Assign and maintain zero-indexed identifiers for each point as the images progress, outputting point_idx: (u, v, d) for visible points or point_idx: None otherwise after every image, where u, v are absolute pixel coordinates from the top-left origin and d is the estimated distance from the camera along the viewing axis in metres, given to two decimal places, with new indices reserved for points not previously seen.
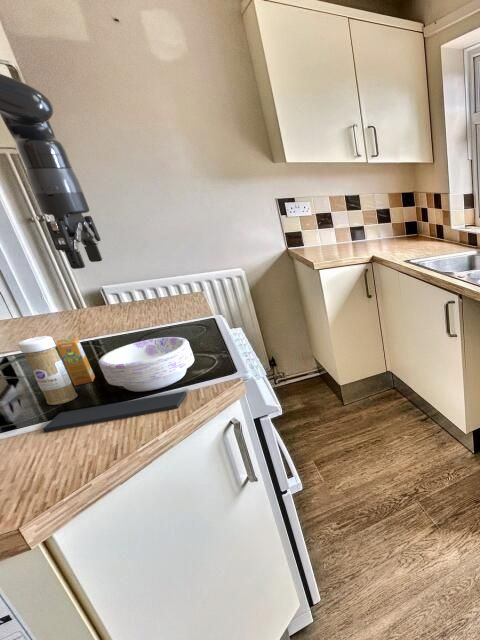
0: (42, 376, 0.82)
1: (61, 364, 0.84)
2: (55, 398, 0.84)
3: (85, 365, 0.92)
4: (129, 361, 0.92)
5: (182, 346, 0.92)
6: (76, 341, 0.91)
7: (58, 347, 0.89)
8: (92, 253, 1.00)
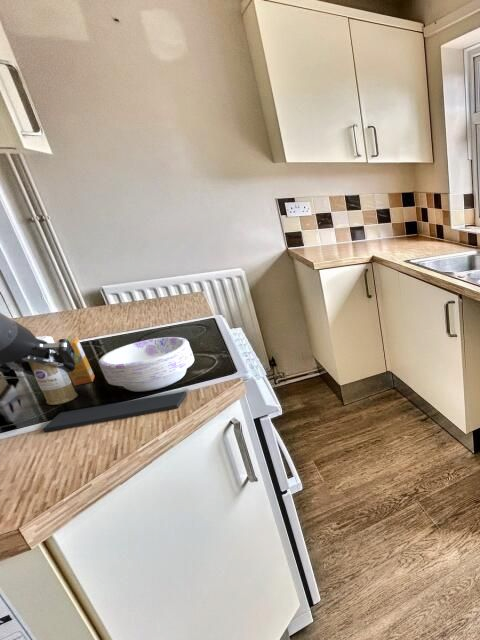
0: (42, 376, 0.82)
1: None
2: (55, 398, 0.84)
3: (85, 365, 0.92)
4: (129, 361, 0.92)
5: (182, 346, 0.92)
6: (76, 341, 0.91)
7: None
8: None
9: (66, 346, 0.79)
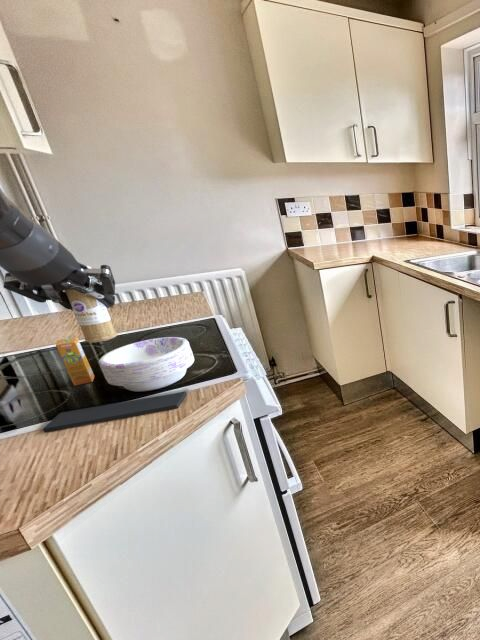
0: (81, 309, 0.74)
1: None
2: (94, 334, 0.76)
3: (85, 365, 0.92)
4: (129, 361, 0.92)
5: (182, 346, 0.92)
6: (76, 341, 0.91)
7: (58, 347, 0.89)
8: None
9: (108, 273, 0.72)
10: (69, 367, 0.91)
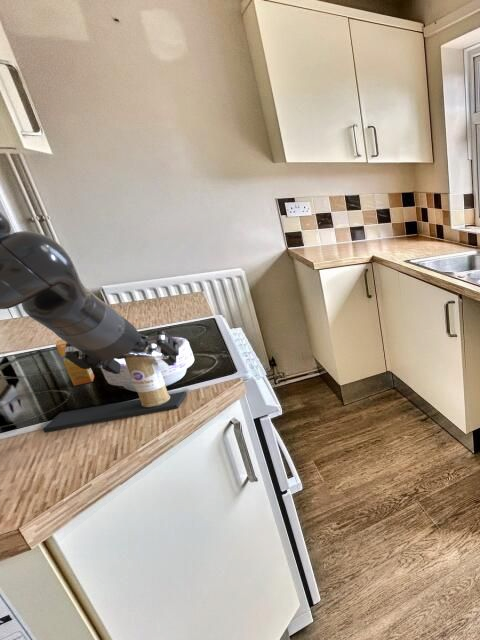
0: (139, 378, 0.79)
1: (157, 365, 0.81)
2: (151, 400, 0.81)
3: None
4: None
5: (182, 346, 0.92)
6: None
7: (58, 347, 0.89)
8: None
9: (163, 338, 0.75)
10: (69, 367, 0.91)
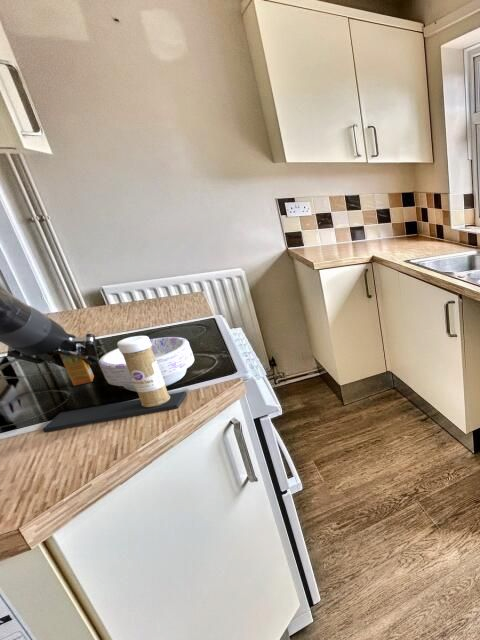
0: (139, 378, 0.79)
1: (157, 365, 0.81)
2: (151, 400, 0.81)
3: (84, 365, 0.92)
4: None
5: (182, 346, 0.92)
6: None
7: None
8: None
9: (92, 340, 0.88)
10: (69, 367, 0.91)
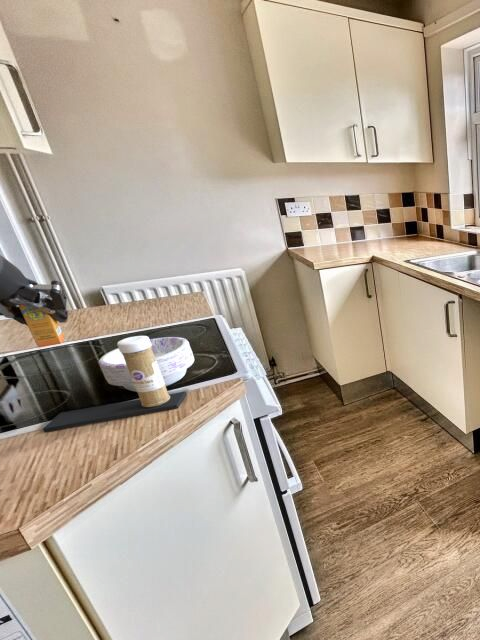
0: (139, 378, 0.79)
1: (157, 365, 0.81)
2: (151, 400, 0.81)
3: (51, 322, 0.76)
4: None
5: (182, 346, 0.92)
6: None
7: None
8: None
9: (59, 289, 0.72)
10: (31, 324, 0.74)
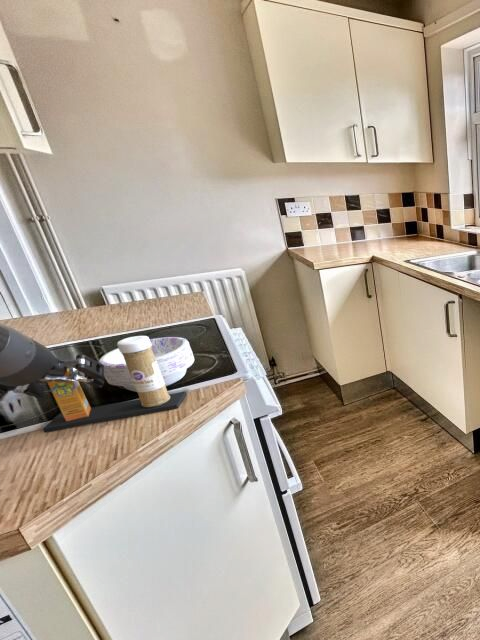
0: (139, 378, 0.79)
1: (157, 365, 0.81)
2: (151, 400, 0.81)
3: (79, 397, 0.77)
4: None
5: (182, 346, 0.92)
6: (68, 369, 0.75)
7: None
8: None
9: (83, 362, 0.72)
10: (60, 400, 0.76)
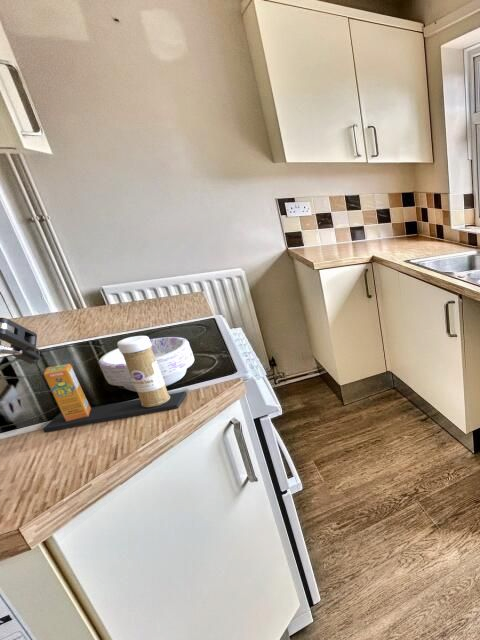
0: (139, 378, 0.79)
1: (157, 365, 0.81)
2: (151, 400, 0.81)
3: (79, 397, 0.77)
4: None
5: (182, 346, 0.92)
6: (68, 369, 0.75)
7: (46, 377, 0.73)
8: None
9: (4, 327, 0.56)
10: (60, 400, 0.76)
